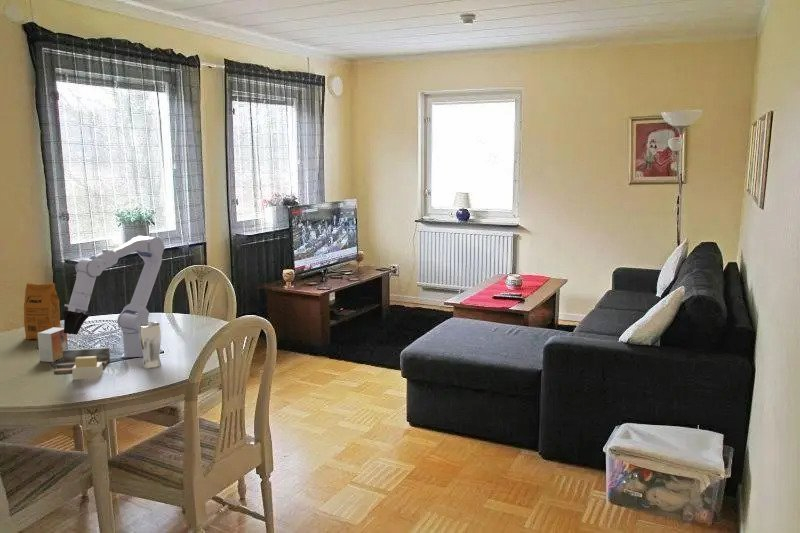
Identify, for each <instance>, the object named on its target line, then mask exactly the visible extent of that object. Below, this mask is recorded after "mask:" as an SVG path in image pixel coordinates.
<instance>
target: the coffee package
mask: <svg viewBox="0 0 800 533" xmlns="http://www.w3.org/2000/svg"><path fill="white" fill-rule="evenodd" d="M24 292H25V294H24V304H23V325H24V326H23V327H24V332H25V333H24V334H25V340H37V341H38V334H37V333H39V332H42V331H45V330H48V329H51V328H53V327H56V328H62V327H61V326H62V325H61V313H60V312H61V311H60V299H59V296H58V292H57V291H56V283H55V282H52V283H51V282H49V283H42V284H38V283H37V284H36V283H32V282H31V283H30V282H27V283H26V287H25V291H24Z"/></svg>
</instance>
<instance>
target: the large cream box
mask: <svg viewBox="0 0 800 533" xmlns="http://www.w3.org/2000/svg"><path fill="white" fill-rule="evenodd" d="M103 371H104V370H103V368H102V362H97V356H86V357H76V358H75V365H74V367H73V368H72V380H73V381H74V380H90V379H92V380H93V379H100V378H101V377H102V375H103V373H104V372H103Z"/></svg>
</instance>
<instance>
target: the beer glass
mask: <svg viewBox="0 0 800 533" xmlns="http://www.w3.org/2000/svg"><path fill="white" fill-rule="evenodd" d="M139 326H140V328H139V338H140V345H141V349H142V353H143V357H142V358H143V360H142V368H143V369H145V370H152V369H153V370H154V369H158V368H161V367H162V361H161V358H160V353H161V352H160V351H161V345H162V332H161V331H162V330H161V323H159V322H156V321H148V322H147V323H142V324H140V325H139Z"/></svg>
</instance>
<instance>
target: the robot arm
mask: <svg viewBox="0 0 800 533" xmlns="http://www.w3.org/2000/svg"><path fill="white" fill-rule="evenodd" d="M165 248H166V246H165V244H164V242H163V240H162V239H161V238H160V237H157V236H145V235H137V236H135V237H132V238H131V239H130V240H128V241H126V242H125V243H123V244H121V245H120V246H117V247H116V248H114V249H110V248H103V249H101V252H99V253H97V254H91V255H90V257H89V258H82V259H80V260H79V261H78V262H77V263H76V264H75V272H76V276H75V277H76V278H75V282H74V286H73V289H72V293H71V296H70V300H69V301H68V302H69V303H68V304H66V303H65V304H64V307H66V308H68V310H63V311H62V314H63V321H64V322H63V328H64V333H66V334H67V335H76V336H77V335H78V334H79V332H80V330H81V328H82V326H83V325H84V323H85V321H86V320H87V319H88V318H89V316H90V315H87V314H86V312H88V310H89V308H88V307H89V304H90V301H91V297H92V294H93V290H94V287H95V286H94V285H95V283H96V281H97V280H96V279H97V277H99V276H100V275H101V274H102V273H103V271H104V270H106V269H109V268H111V267H112V266H114V265H117V263H118V261H119V259H121V258H123V257H125V256H128V255H130V254H133V253H134V252H136V254H138V255H139V256H140V258H141V259H142V260H143V263H144V265H143V268H142V270H141V273H140V275H139V278H138V282H137V284H136V286H135V289H134V292H133V294H132V298H131V300H130V303H128V304H127V305H126V306H123V310H122V311H121V312H120V314H118V316H117V319H116V320H117V321H116V322H117V325H118V327H119V328H120V329H121V331H122V340H123V341H122V343H123V353H122V355H121V356H120V357H121V358H123V359H124V358H139V357H142V358H143V353H142V349H141V345H140V338H139V328H140V326H139V325H140V324H142V323H147V322H149V317H150V312H149V310H148V309H147V305H148V303H149V299H150V297H151V294H152V292H153V288H154V285H155V282H156V280H157V277H158V274H159V271H160V270H161V269H160V268H161V266H162V264H163V263H162V261H163V253H164V250H165Z"/></svg>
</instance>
